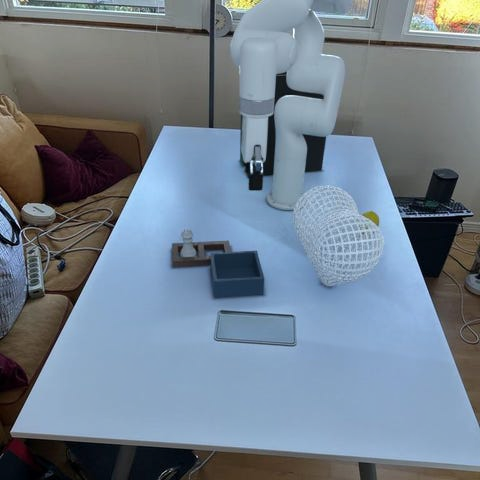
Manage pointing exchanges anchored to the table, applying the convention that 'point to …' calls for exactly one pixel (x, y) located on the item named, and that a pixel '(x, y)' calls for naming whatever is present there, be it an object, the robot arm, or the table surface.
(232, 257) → the blue open box
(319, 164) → the binder
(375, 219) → the lemon
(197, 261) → the stand
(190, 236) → the rook chess piece
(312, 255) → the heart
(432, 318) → the table surface
